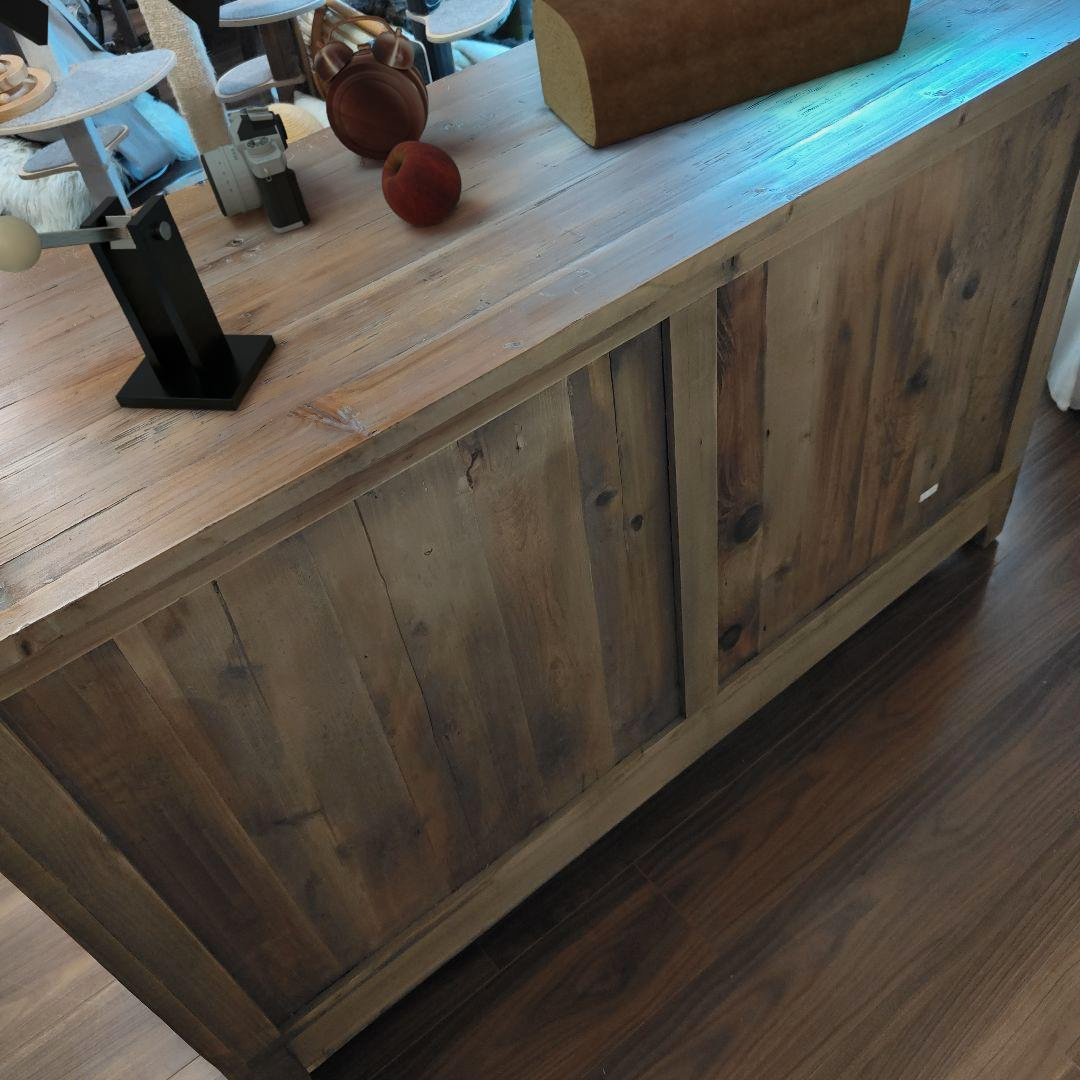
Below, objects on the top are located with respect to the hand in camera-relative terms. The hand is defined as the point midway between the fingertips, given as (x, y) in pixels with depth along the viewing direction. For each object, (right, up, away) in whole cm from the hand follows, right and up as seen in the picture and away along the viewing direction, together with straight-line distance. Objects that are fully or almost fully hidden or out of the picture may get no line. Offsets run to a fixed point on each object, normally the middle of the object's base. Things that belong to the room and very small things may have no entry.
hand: (127, 20), depth 70 cm
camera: (-1, 0, +38) cm, 38 cm away
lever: (-4, -16, +2) cm, 17 cm away
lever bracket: (-1, -22, +18) cm, 28 cm away
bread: (+49, +16, +44) cm, 68 cm away
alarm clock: (+12, +6, +42) cm, 44 cm away
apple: (+18, -4, +31) cm, 36 cm away
